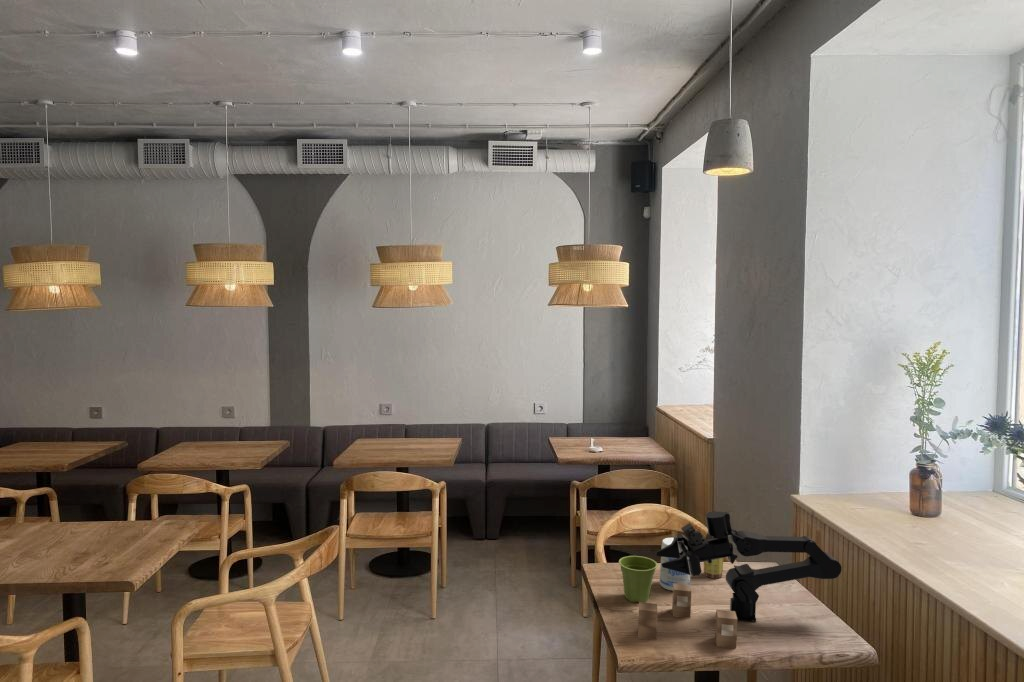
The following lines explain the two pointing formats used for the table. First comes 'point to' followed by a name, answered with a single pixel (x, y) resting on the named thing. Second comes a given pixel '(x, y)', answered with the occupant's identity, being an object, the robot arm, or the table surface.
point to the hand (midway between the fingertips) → (659, 559)
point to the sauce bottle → (713, 565)
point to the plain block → (647, 621)
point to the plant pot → (637, 577)
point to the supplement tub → (671, 571)
